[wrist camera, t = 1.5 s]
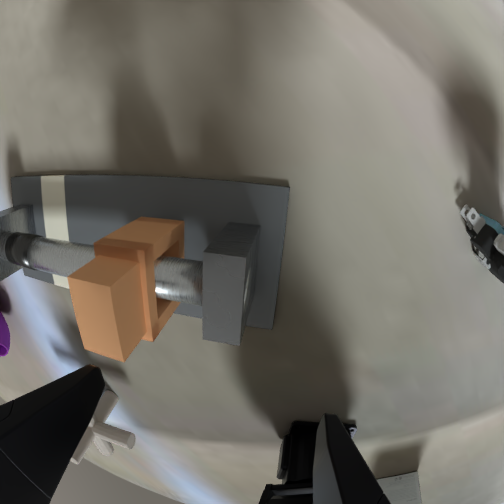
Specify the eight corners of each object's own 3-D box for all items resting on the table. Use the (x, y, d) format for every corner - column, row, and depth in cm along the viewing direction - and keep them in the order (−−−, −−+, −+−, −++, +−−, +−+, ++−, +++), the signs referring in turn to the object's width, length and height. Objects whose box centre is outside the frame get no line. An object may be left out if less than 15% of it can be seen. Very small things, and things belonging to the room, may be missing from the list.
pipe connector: (66, 353, 27) (15, 409, 18) (139, 375, 26) (92, 451, 16) (92, 410, 31) (56, 463, 21) (158, 432, 29) (128, 497, 20)
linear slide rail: (260, 225, 18) (246, 257, 13) (254, 296, 20) (239, 345, 15) (20, 203, 21) (-22, 220, 16) (28, 254, 23) (-11, 276, 18)
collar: (184, 220, 18) (114, 274, 10) (185, 296, 20) (131, 373, 12) (141, 216, 18) (60, 263, 11) (145, 288, 20) (83, 356, 13)
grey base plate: (289, 187, 18) (289, 188, 17) (272, 326, 21) (272, 329, 21) (13, 176, 20) (10, 177, 20) (26, 273, 24) (24, 275, 24)
